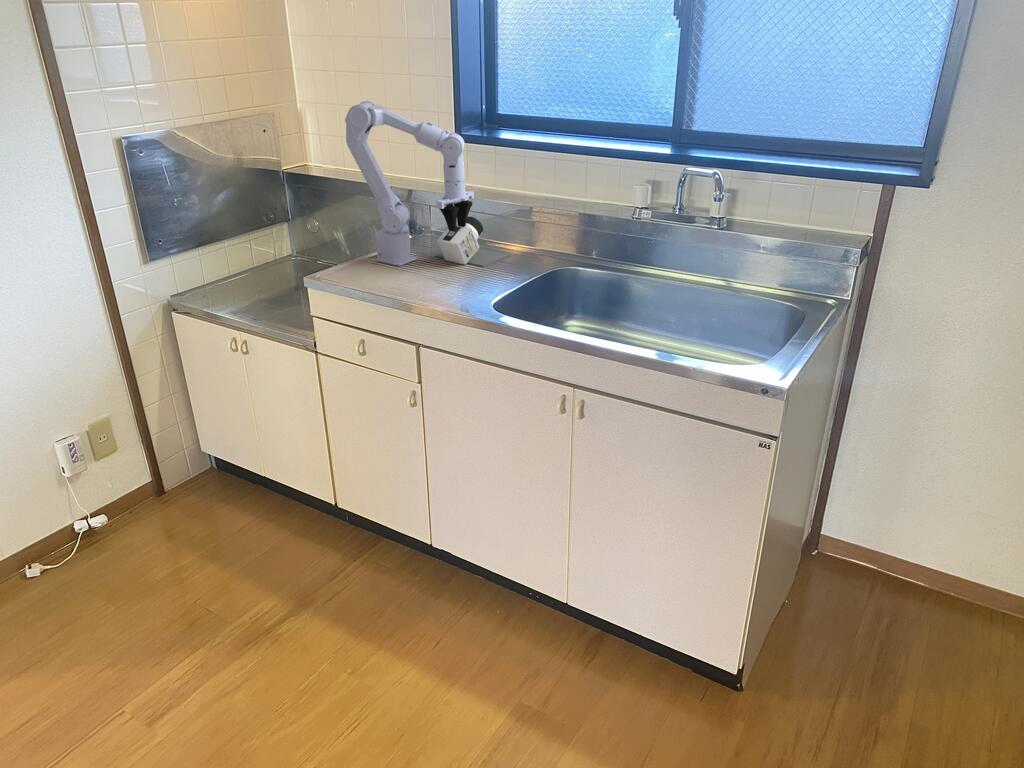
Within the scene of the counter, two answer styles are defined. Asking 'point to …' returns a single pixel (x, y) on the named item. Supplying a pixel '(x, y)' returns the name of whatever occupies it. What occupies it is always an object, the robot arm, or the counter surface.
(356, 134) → the robot arm
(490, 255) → the mat
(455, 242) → the container
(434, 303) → the counter surface
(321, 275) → the counter surface
